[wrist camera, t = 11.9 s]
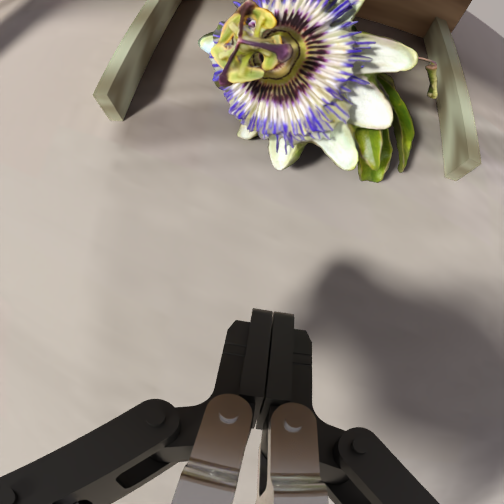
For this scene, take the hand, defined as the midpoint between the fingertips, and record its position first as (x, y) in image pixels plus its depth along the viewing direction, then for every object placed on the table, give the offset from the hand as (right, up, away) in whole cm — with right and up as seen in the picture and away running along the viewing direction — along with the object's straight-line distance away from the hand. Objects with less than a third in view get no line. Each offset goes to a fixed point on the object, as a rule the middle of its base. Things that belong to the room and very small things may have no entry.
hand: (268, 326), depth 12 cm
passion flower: (+3, +12, +7) cm, 14 cm away
